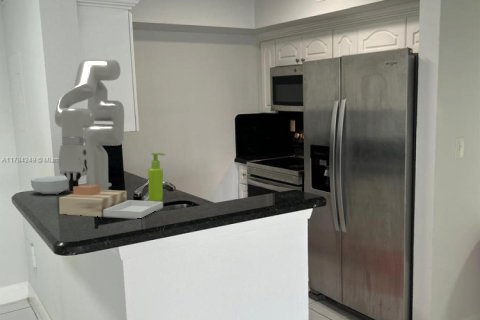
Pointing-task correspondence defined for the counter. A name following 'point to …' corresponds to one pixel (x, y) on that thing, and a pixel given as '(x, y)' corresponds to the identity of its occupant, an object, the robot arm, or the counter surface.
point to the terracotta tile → (86, 189)
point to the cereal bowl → (50, 184)
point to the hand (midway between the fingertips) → (73, 190)
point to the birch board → (91, 203)
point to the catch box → (132, 209)
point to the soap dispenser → (156, 180)
